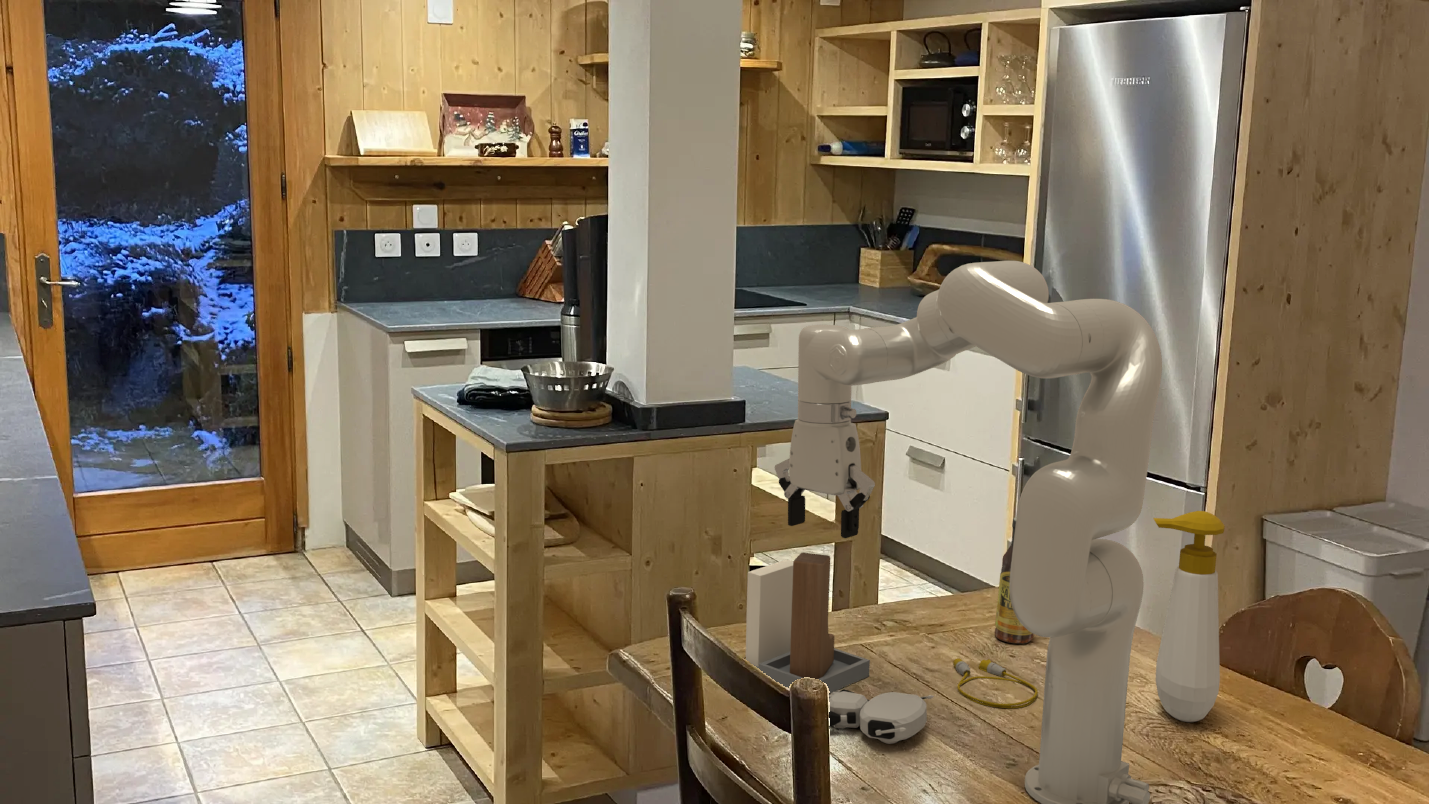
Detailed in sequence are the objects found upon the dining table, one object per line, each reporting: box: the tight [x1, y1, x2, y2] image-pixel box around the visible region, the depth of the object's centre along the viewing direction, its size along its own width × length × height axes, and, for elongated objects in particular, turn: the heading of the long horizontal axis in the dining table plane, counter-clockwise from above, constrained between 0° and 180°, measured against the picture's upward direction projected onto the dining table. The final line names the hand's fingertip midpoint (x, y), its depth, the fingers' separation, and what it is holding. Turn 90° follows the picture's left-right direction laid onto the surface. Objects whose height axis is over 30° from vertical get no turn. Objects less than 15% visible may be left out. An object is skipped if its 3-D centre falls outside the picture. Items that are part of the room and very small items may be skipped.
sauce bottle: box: [994, 516, 1034, 645], centre depth 213 cm, size 6×6×20 cm
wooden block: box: [790, 552, 835, 679], centre depth 196 cm, size 9×4×18 cm, turn 161°
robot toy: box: [828, 688, 934, 745], centre depth 180 cm, size 12×4×15 cm
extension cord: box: [952, 657, 1039, 709], centre depth 195 cm, size 12×16×2 cm
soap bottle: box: [1153, 510, 1226, 723], centre depth 185 cm, size 13×10×29 cm
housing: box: [745, 559, 871, 694], centre depth 198 cm, size 16×13×15 cm
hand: (822, 530), depth 193 cm, fingers open, 9 cm apart
